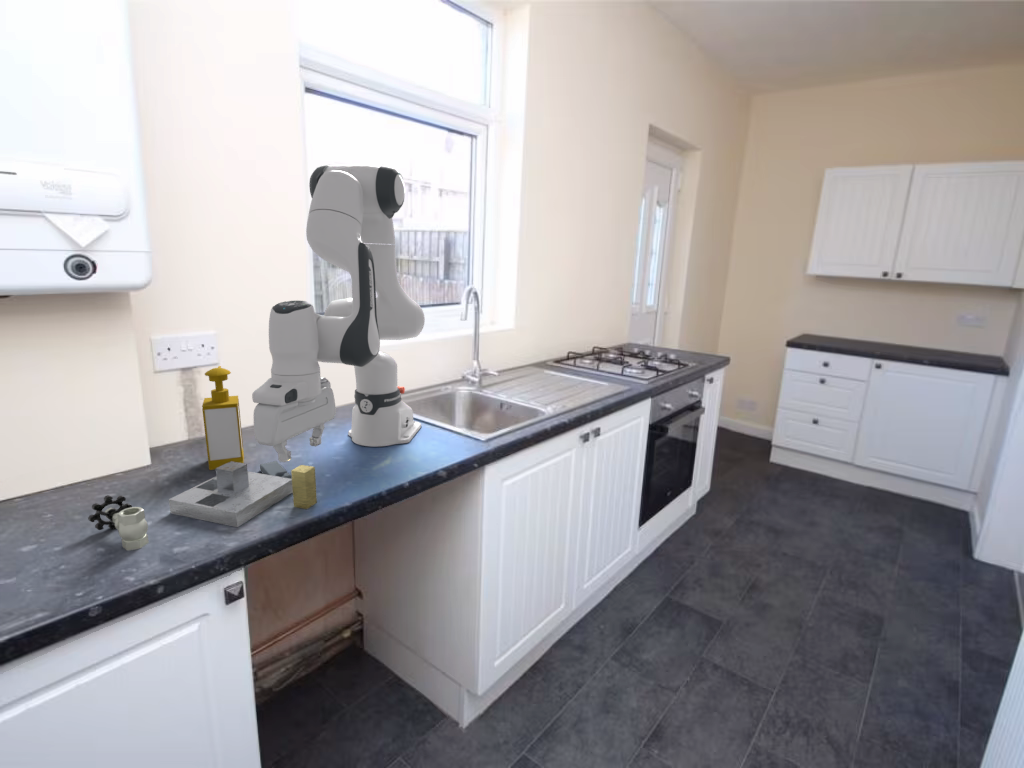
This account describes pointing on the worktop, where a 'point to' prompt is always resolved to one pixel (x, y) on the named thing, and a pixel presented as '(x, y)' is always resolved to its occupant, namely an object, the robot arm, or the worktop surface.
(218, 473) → the square plinth with cube
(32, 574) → the worktop surface
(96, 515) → the valve
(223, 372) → the soap bottle
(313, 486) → the yellow rectangular block
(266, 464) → the bracket
